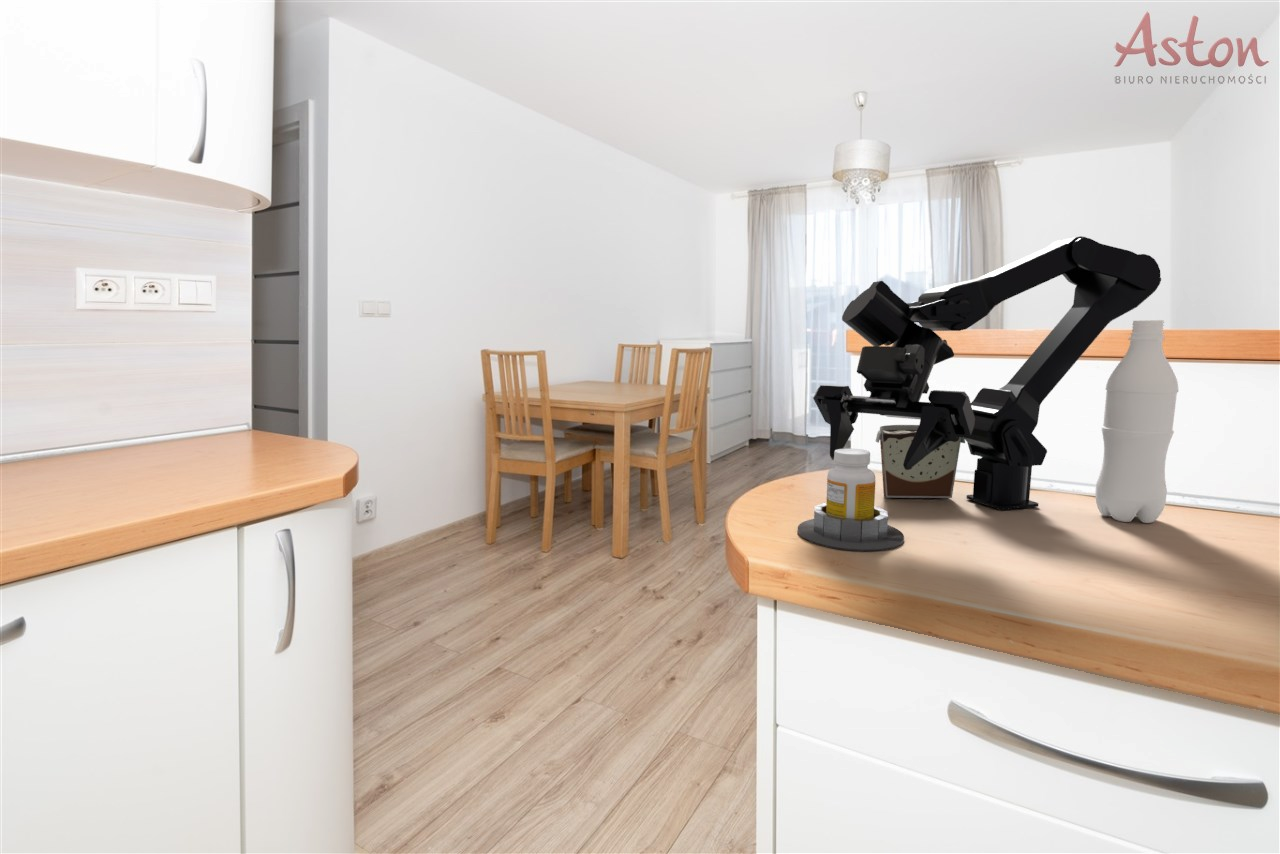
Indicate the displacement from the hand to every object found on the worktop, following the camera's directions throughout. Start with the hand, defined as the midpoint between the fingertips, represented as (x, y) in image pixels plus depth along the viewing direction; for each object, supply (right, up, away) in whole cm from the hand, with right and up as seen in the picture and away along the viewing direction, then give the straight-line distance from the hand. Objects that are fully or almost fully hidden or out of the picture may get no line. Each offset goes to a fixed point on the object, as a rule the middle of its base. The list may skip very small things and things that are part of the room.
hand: (867, 462), depth 78 cm
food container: (+13, -6, +18) cm, 22 cm away
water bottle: (+35, -8, +5) cm, 36 cm away
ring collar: (-3, -9, -1) cm, 9 cm away
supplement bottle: (-3, -8, -1) cm, 9 cm away
